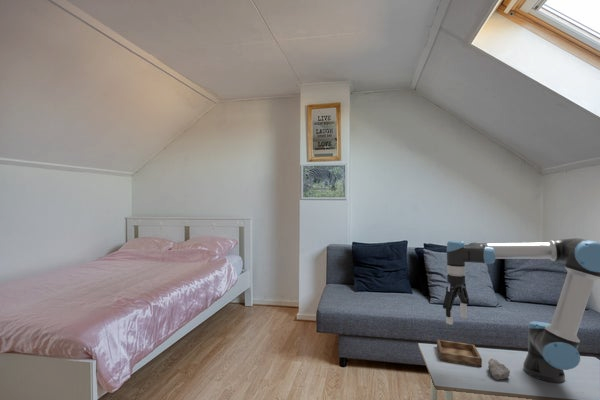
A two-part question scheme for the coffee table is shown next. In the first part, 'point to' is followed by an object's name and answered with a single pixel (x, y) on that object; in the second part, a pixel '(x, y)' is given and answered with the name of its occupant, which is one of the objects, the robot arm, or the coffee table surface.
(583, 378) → the coffee table surface
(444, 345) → the tray
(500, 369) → the stone
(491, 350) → the coffee table surface
